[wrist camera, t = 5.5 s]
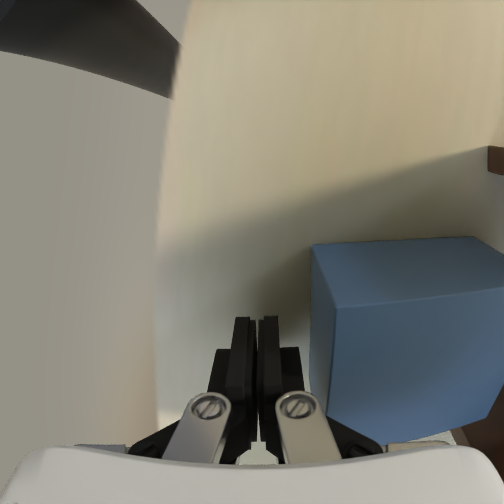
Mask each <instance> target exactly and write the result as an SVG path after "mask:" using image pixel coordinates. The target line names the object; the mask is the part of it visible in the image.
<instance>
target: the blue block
mask: <svg viewBox="0 0 504 504" xmlns="http://www.w3.org/2000/svg"><path fill="white" fill-rule="evenodd" d="M309 381H310V388H311V394H313V395H315V396H316V397H317V398H318V400H319V401H320V403H321V406H322V408H323V411H324V413H325V415H327V416H328V417H330V418H332V419H334V420H336V421H338V422H339V423H341V424H343V425H345V426H347V427H349V428H351V429H353V430H355V431H356V432H358V433H360V434H362V435H364V436H366V437H368V438H370V439H372V440H374V441H376V442H377V443H378V444H379V445H387V443H388V442H407V441H411V440H415V439H419V438H423V437H427V436H431V435H434V434H438V433H441V432H445V431H448V430H451V429H455V428H458V427H461V426H464V425H467V424H470V423H473V422H475V421H478V420H481V419H484V418H486V417H487V415H488V413H489V411H490V409H491V407H492V406H493V404H494V402H495V400H496V398H497V396H498V394H499V392H500V390H501V388H502V386H503V384H504V255H503V254H501V253H500V252H498V251H497V250H495V249H494V248H492V247H490V246H489V245H487V244H485V243H484V242H482V241H480V240H479V239H477V238H475V237H474V236H471V237H451V238H431V239H411V240H391V241H372V242H353V243H334V244H315V245H311V325H310V360H309Z"/></svg>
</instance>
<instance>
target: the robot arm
mask: <svg viewBox="0 0 504 504" xmlns="http://www.w3.org/2000/svg"><path fill="white" fill-rule="evenodd" d="M258 414H259V426H260V437H261V442H265V441H266V450H268V451H269V452H270V453H272V454H273V455H275V456H276V457H277V464H276V465H239V463H240V455H241V454H243V453H244V452H246V451H247V450H251V442H257V424H258ZM0 504H504V483H503V481H502V479H501V477H500V475H499V474H498V472H497V470H496V469H495V467H494V466H493V464H492V463H491V461H490V460H489V459H488V458H487V457H486V456H485V455H484V454H483V453H482V452H480V451H479V450H477V449H474V448H471V447H467V446H460V445H450V444H449V443H447V442H444V441H420V442H388V443H387V445H379V444H378V443H377V442H376V441H374V440H372V439H370V438H368V437H366V436H364V435H362V434H360V433H358V432H356V431H355V430H353V429H351V428H349V427H347V426H345V425H343V424H341V423H339V422H338V421H336V420H334V419H332V418H330V417H328V416H327V415H325V413H324V411H323V408H322V406H321V403H320V401H319V400H318V398H317V397H316V396H315V395H313V394H311V393H309V392H306V391H305V389H304V381H303V374H302V366H301V359H300V352H299V347H282V348H280V344H279V327H278V316H264V320H259V330H258V351H257V337H256V323H255V320H250V317H236V319H235V325H234V331H233V338H232V344H231V349H217V350H216V353H215V358H214V362H213V367H212V372H211V376H210V381H209V385H208V390H207V393H202V394H200V395H197V396H195V397H194V398H193V399H191V400H190V402H189V403H188V405H187V407H186V409H185V411H184V413H183V415H182V417H181V419H180V420H178V421H176V422H175V423H173V424H171V425H169V426H167V427H165V428H164V429H162V430H160V431H158V432H156V433H154V434H152V435H150V436H149V437H146V438H144V439H143V440H140V441H139V442H137V443H135V444H134V445H132V447H126V445H125V444H124V445H91V444H89V445H88V444H77V445H54V446H44V447H40V448H36V449H34V450H32V451H31V452H29V453H28V454H27V455H26V456H25V457H24V458H23V459H22V460H21V462H20V463H19V464H18V466H17V467H16V468H15V470H14V472H13V473H12V475H11V476H10V478H9V480H8V481H7V483H6V485H5V487H4V488H3V490H2V492H1V494H0Z"/></svg>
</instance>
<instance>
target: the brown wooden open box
mask: <svg viewBox="0 0 504 504" xmlns="http://www.w3.org/2000/svg"><path fill="white" fill-rule="evenodd" d="M488 171H489V172H492V173H496V174H500V175H504V148H502V147H495V146H488ZM450 431H451V433H452V435H453V438H454V440H455V442H456V444H457V445H460V446H467V447H471V448H474V449H477V450H479V451H480V452H482V453H483V454H484V455H485V456H486V457H487V458H488V459H489V460H490V461H491V463H492V464H493V466H494V467H495V469H496V470H497V472H498V474H499V475H500V477H501V479H502V481H503V483H504V384H503V386H502V388H501V390H500V392H499V394H498V396H497V398H496V400H495V402H494V404H493V406H492V407H491V409H490V411H489V413H488V415H487V417H486V418H484V419H481V420H478V421H475V422H473V423H470V424H467V425H464V426H461V427H458V428H455V429H451V430H450Z"/></svg>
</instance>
